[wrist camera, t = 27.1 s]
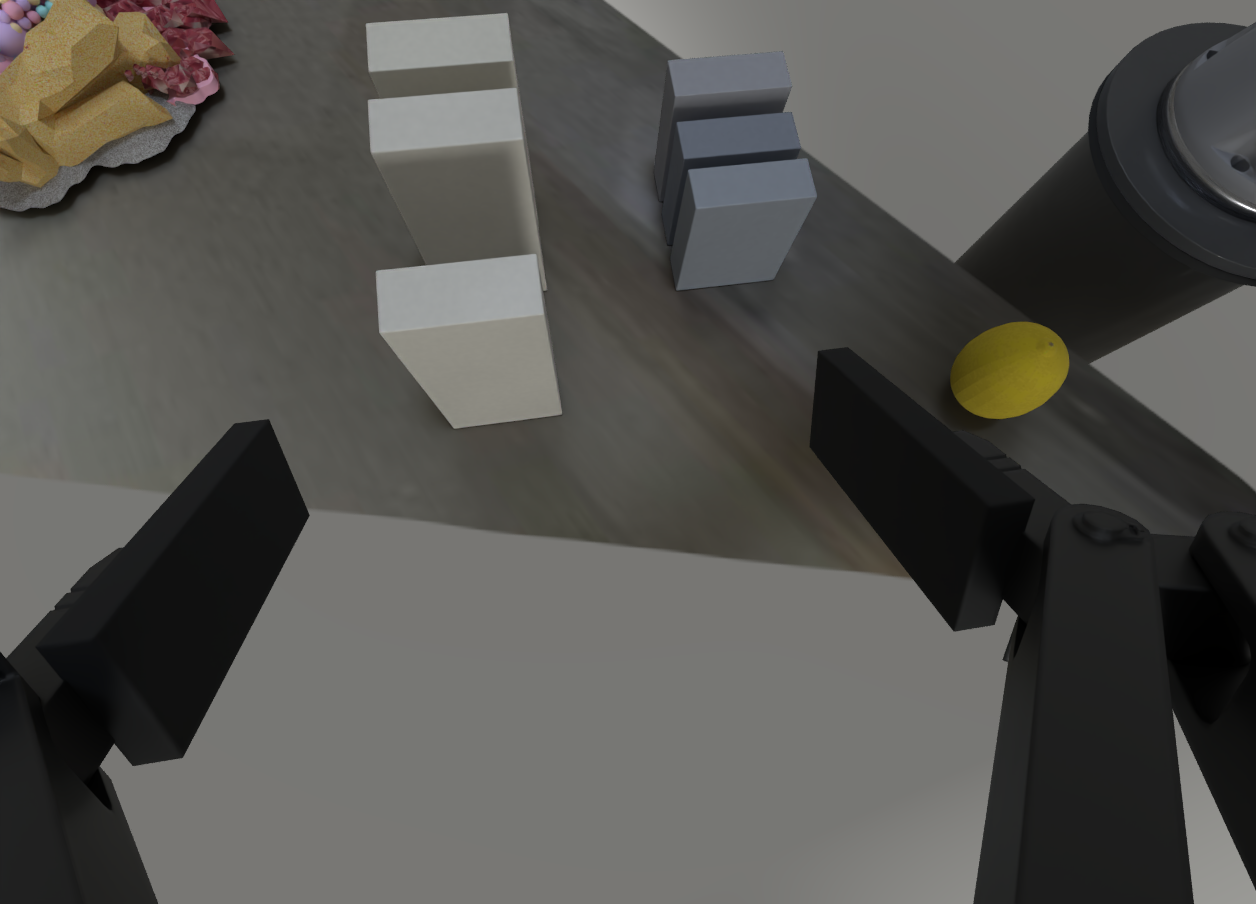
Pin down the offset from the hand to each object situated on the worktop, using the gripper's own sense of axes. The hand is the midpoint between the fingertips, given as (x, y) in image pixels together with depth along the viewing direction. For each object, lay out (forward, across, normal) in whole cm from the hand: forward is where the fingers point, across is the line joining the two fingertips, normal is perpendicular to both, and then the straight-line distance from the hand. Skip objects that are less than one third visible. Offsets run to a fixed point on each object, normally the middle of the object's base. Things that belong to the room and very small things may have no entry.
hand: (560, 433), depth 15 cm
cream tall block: (+24, -4, -10) cm, 26 cm away
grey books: (+32, +12, -2) cm, 34 cm away
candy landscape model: (+45, -34, +11) cm, 57 cm away
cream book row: (+32, -4, -2) cm, 32 cm away
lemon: (+21, +27, -13) cm, 37 cm away
